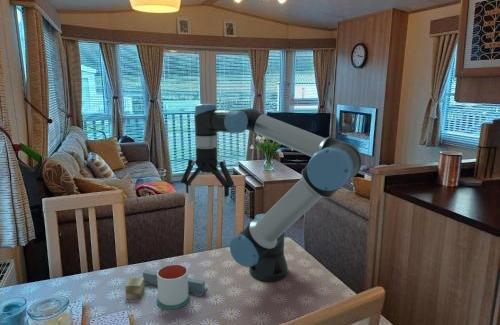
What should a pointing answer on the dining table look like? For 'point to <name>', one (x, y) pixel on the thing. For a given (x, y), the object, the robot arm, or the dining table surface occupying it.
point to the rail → (193, 284)
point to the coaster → (174, 305)
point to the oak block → (135, 288)
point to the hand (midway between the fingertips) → (207, 203)
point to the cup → (172, 284)
